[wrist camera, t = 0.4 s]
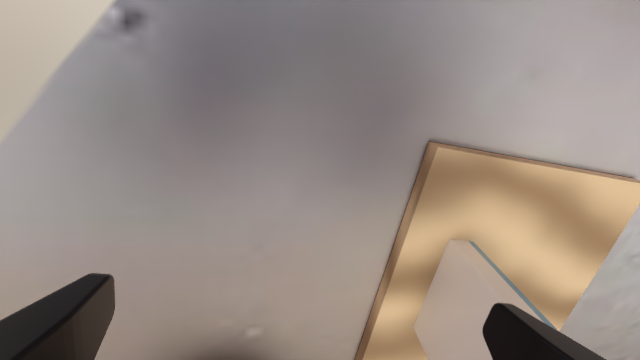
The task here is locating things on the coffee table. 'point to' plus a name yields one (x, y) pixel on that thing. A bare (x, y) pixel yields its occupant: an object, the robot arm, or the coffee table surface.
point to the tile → (465, 304)
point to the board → (498, 235)
